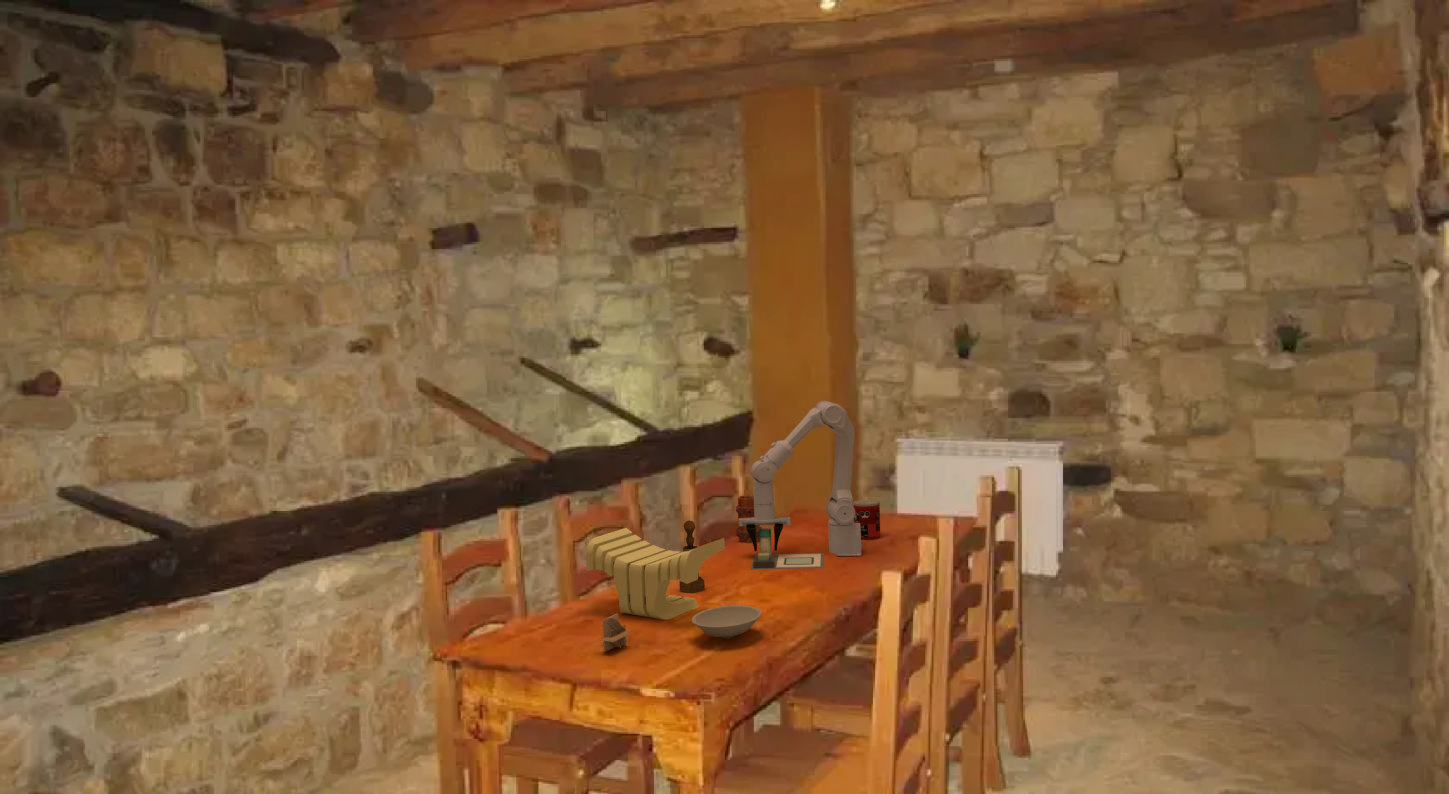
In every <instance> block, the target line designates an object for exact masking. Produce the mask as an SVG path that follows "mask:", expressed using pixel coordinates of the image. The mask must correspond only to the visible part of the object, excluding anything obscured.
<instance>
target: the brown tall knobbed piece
mask: <svg viewBox="0 0 1449 794" xmlns="http://www.w3.org/2000/svg"><path fill="white" fill-rule="evenodd" d="M695 529H696V523H695V522H694V521H693V520H686V521H685V522H684V523H683V530H684V531H685V533H686V538H685V542H686V545H685V546H683V547H682V552H685V551H690V550H692V549H694V548H697V547H698V546H697V545H695V544H694V543H695V537H694V535H693V534H694V531H695ZM678 585H679V591H680V592H682V593H691V594H692V593H698V592H700V593H701V592H702V591H704V590H705V579H703V578H702V577H701V576H700V573H699V574H698V580H696V581H693V582H691V583H688V584H686V583H684V582H681V581H680V580H679V584H678Z"/></svg>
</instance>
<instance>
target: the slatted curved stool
mask: <svg viewBox="0 0 1449 794" xmlns="http://www.w3.org/2000/svg"><path fill="white" fill-rule="evenodd" d="M725 545H726V544H725V537H722V538H720V539H716V540H714V541H711V542H707V543H706V544H702V545H700V546H697V548H694V549H692V550H690V551H685V552H683V551H678V550H677V551H675V550H670V549H668V550H667V549H665V548H662V547H660V546H656V545H653V544H652V545H651V543H650V542H648V541H646V540H642V538H641V537H639V536H638V535H637V534H633V532H632V531H631V530H630V529H628V528H627V527H624V528H622V529H618V530H614V531H612V532H609V533H604V534H603V535H598V536H595V537H593V538H592V539H591V540H590V541H589V542H588V544H587V546H586V549H585V559H586V560H585V562H586V571H587V572H588V571H593V570H596V571H600V572H601V571H604V572H605V573H606V574H608V575H609V577H613V581H614V582H613V583H614V585H615V590H616V592H617V597H618V603H619V605H618V606H619V609H620V610H619V611H620V613H622V614H627V615H633V616H641V617H645V618H653V619H660V620H671V619H673V618H676V617H677V616H679V615H682V614H684V613H685V614H686V613H687V612H689V611H693V610H694V609H696V608H698V607H699V604H698V601H697V600H696V598H694V597H688V596H685V597H684V596H680V595H674V594H671V595H668V594H667V590H668V588H669V586H670V584H671V580H672V581H673V580H674V581H679V582H680V581H681V582H684V583H686V584H688V583H691V582H693V581H696V580H698V574H699V575H700V569H701V566H702V565H703V564H704V562H706V560H707V559H708V558H710V557H712V556H714V555H715V554H717V553H719V552H721V551H725V550H726V546H725Z"/></svg>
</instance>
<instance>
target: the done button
mask: <svg viewBox="0 0 1449 794" xmlns="http://www.w3.org/2000/svg"><path fill="white" fill-rule="evenodd" d="M757 554H758V561H770V556H769V553H760V552H759V553H757Z"/></svg>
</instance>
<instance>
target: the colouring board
mask: <svg viewBox="0 0 1449 794" xmlns="http://www.w3.org/2000/svg"><path fill="white" fill-rule="evenodd" d="M824 568H825V552H803V553H801V552H800V553H799V552H796V553H772V557H770V561H758V553H756V554H755V553H754V556H753V559H752V562H751V567H750V570H751V571H752V570H790V569H791V570H793V569H794V570H795V569H796V570H797V569H803V570H804V569H824Z"/></svg>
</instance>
